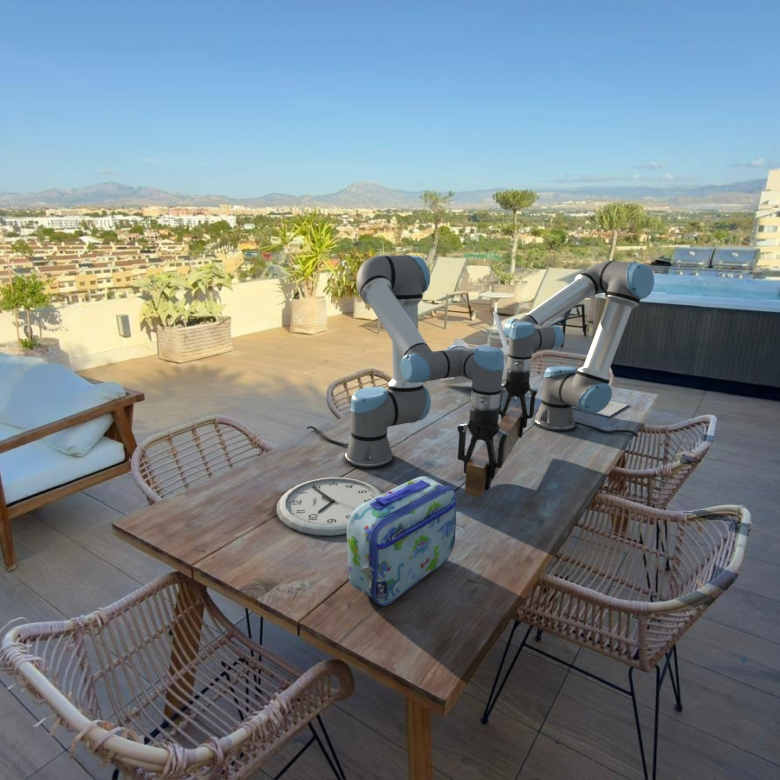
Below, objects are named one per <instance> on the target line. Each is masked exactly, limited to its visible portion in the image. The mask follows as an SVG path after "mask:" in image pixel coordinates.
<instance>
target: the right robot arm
mask: <svg viewBox="0 0 780 780" xmlns="http://www.w3.org/2000/svg"><path fill="white" fill-rule="evenodd" d="M654 286H655V275H654V272H653V270H652V268H651V267H650V266H649V265H648V264H646V263H642V262H637V261H621V260H620V261H618V260H606V261H602V262H599V263H596V264H595V265H593V266H590V267H588V268H586V269H585V270H584V271H582V272H580V273H579V274H577V275H576V276H575V278H574V280H573V281H572V282H571V283H569V284H568V285H567V286H565V287H564V288H562V289H560V291H558V292H557V293H555V294H553V295H552V296H550V297H549V298H548V299H546V300H545V301H543V302H542V303H540V304H539V305H538V306H537V307H535V308H533V309H532V310H531V311H529V312H528V313H526V314H525V315H524V316H522V317H521V318H511V319H508V320H507V321H506V322H505V324H504V327H503V331H504V334H505V337H506V339H508V345H509V351H508V361H507V368H508V370H507V375H506V377H505V382H504V383H503V384H502V385H501V397H500V406H499V407H498V408H499V416H500V421H501V420H502V419H503V418H504V416H505V415H506V414H507V412H508V409H509V406H510V403H511V401H512V398H515V397H517V398H518V399H519V401H520V409H522V414H523V417H522V418H521V423H520V433H519V439H520V438H521V439H522V438H523V435H524V429H526V428H527V427H528V420H531V419H533V418H534V424H535V425H536V426H537V427H539V428H542V429H544V430H549V431H556V432H567V431H572V430H574V429H575V428H576V425H577V426H578V425H579V426H581V427H585V428H588V429H592V430H595V431H597V432H601V433H604V434H614V433H629V434H632V435H633V436H634V437H636V438H639V437H640V436H639V435H638V434H637V432H635V431H634V430H629V429H611V430H606V429H601V428H599V427H596V426H593V425H589V424H586V423H582V422H579V421H576V418H575V417H576V416H575V413H574V409H576V408H578V409H577V410H580V411H581V412H586V413H589V414H596V413H597V412H600V411H601V410H603V409H604V408H605V407H606V406H607V405H608V403H609V402H610V401H612V397H613V392H612V389H613V388H612V387H611V386H610V385H609V384H610V381H611V379H610V376H609V371H610V368H611V366H612V364H613V360H614V358H615V356H616V353H617V350H618V348H619V344H620V342H621V339H622V337H623V334H624V331H625V329H626V326H627V323H628V321H629V318H630V315H631V313H632V310H633V309H635V308H637V307H639V305H640V302H641V300H644V299H645V298H648V296H650V295H651V293H652V291H653V289H654ZM599 294H604V296H603V297H604V299H605V300H606V304H605V306H604V309H603V311H602V314H601V317H600V319H599V323H598V325H597V328H596V331H595V334H594V335H593V339H592V341H591V345H590V347H589V349H588V351H587V352H588V353H587V355H586V358H585V360H584V363H583V366H581V367H579V368H577V367H574V366H566V365H565V366H564V365H559V366H558V365H557V366H550V367H547V368H546V369H545V370H544V375H543V381H542V392H541V402H540V405H539V407H538V409H537V410H536V413H535V405H536V404H535V403H536V396H537V393H538V392H539V391H538V388H532V387H531V385H530V377H531V371H530V370H531V368H532V358H533V352H536V351H546V350H553V349H558V348H560V347H561V346H562V345H563V344H564V340H565V334H564V331H563V329H562V328H561V327H560V326H558V325H550V324H551V323H553V322H555V321H556V320H557V319H559V318H560V317H562V316H563V315H565V313H567V312H568V311H570V310H572V308H574V307H576V306H577V305H578V304H580V303H582V302H583V301H584V300H585V299H591V298H593V297H595V296H596V295H599ZM548 325H549V326H548ZM504 390H506V392H507V396H506V400H505V403H504V405H503V409H502V404H503V391H504ZM528 391H529V394H530V395H529V396H530V400H529V409H528V408H527V402H526V393H527V392H528ZM574 407H575V408H574ZM534 414H535V416H534Z"/></svg>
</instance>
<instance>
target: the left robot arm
mask: <svg viewBox="0 0 780 780" xmlns="http://www.w3.org/2000/svg"><path fill="white" fill-rule="evenodd" d="M430 284H431V273H430V269H429V266H428V264H427V262H426V261H425V259H423V258H422V257H421V256H419V255H411V254H402V255H401V254H399V255H397V254H396V255H395V254H393V255H374V256H371V257H369V258H368V259H366V260H365V261H364V262H363V263H362V264H361V265H360V267H359V269H358V271H357V275H356V289H357V292H358V295H359V297H360V298H361V300H362V301H363V302H364V303H365V305H369V306H370V307H371V309H372V311H373V312H374V314H375V315H376V317H377V319H378V320H379V322H380V324H381V325H382V327H383V328H384V330H385V332H386V333H387V335H388V336H389V338H390V340H391V368H392V369H391V370H392V371H391V372H392V374H391V375H392V378H391V379H390V381H388V382H387V388H385V387H382V386H367V387H363V388H361V389H358V390H356V391H355V392H354V393H353V394H352V396H351V399H350V408H349V409H350V439H349V442H348V443H344V442H340V441H337V440H333V439H331V438H328V437H327V436H325V434H323V432H322V431H321V430H319V429H318V428H316V427H315V426H313V425H308V426H307V427H306V429H307V430H308V429H312V430H314V431H315V432H317V433H319V434H320V435H321V437H322V438H323V439H325V441H328V442H330V443H332V444H333V443H334V444H337V445H339V446H340V445H341V446H344V447H345V446H346V447H347V449H346V451H345V461H346V462H347V464H349V465H350V466H353V467H355V468H359V469H379V468H382V467H386V466H387V465H389V464H391V463H392V461H393V451H392V448H391V445H390V441H389V438H388V428H389V427H394V426H399V425H400V426H401V425H405V424H413V423H414V424H415V423H416V422H420V421H423V420H424V419H425V418H426V417H427V416H428V415H429V413H430V410H431V407H432V406H431V405H432V397H431V395H430V391H429V389H428V388H427V387H426V386H424V383H426V382H430V381H436V380H441V379H445V378H452V377H459V376H463V377H466V378H468V379H471V380H472V382H471V393H470V405H471V406H470V407H469V420H468V422H467V423H463V422H461V423H460V424H459V425H458V426H457V431H458V447H457V449H458V450H457V460H458V461H462V462H463V474H466V468H467V464H468V462H469V461H470V460H471V459H472V457H473V453H474V450H475V448H476V445H477V442H478V441H483V442H485V443H486V446H487V451H488V457H489V463H490V465H489V466H488V468H487V476H486V487H485V490H486V492H487V491H488V492H489V490H490V488H491V484H492V482H491V479H493V480H494V479H495V477H496V475H495V472H496V468H500V469H502V467H503V465H504V463H505V461H504V453H505V443H506V438H507V436H508V435H509V433H508V431H505V432H504V431H502V430H500V428H499V426H498V424H499V418H500V414H499V408H498V407H499V406H500V397H501V385H503V384H502V383H503V375H504V374H503V373H504V370H503V369H504V353H503V351H502V350H501V349H500V348H498V347H495V346H494V347H493V346H490V347H478V348H477V349H476V350H475V351H474V350H471V349H468V348H467V347H464V346H458V345H453V344H452V345H450V346H448V347H447V348H446V349H444V350H443V349H442V350H435V351H434V350H432V349H431V347H430V346H429V345H428V343H427V342H426V340H425V339H424V338H423V335H422V334H421V333H420V331H419V303H420V302H421V301H422V300H423V298H424V297H423V294H424V293H425V292H426V291H428V290H429V286H430ZM467 431H468V432H470V434H471V438H470V443H469V444H468V448H467V451H466V439H467V438H466V437H467ZM497 433H498V435H499V436H498V437H499V439H500V441H499V450H498V460H497V462H496V456H495V450H494V444H493V437H494V436H495V435H496V434H497Z"/></svg>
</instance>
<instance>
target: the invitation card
mask: <svg viewBox="0 0 780 780" xmlns="http://www.w3.org/2000/svg"><path fill="white" fill-rule="evenodd" d="M628 406H629V404H627V403H623V402H618V401H614V400H610V402H609V403H608V405H607V406H606V407H605V408H604V409H603V410H601V411H600V412H597V413H595V414H596V415H600V416H604V417H608V418H609V417H611V416H613V415H614V414H616V413H617V412H619V411H621V410H623V409H624V408H626V407H628ZM573 409H575V410H579V409H578V408H575V407H573Z"/></svg>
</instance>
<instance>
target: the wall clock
mask: <svg viewBox="0 0 780 780" xmlns="http://www.w3.org/2000/svg"><path fill="white" fill-rule="evenodd" d="M381 494H384V492H382V491H381V490H380V489H379V488H377V487H376V486H374V485H372V484H371V483H369V482H365V481H362V480H359V479H355V478H349V477H338V476H337V477H335V476H333V477H332V476H331V477H322V478H317V479H312V480H307V481H305V482H302V483H299V484H297V485H295V486H293V487H292V488H290V489H288V490H287V491H286V492H285V493H284V494H283V495H281V496H280V498H279V499H278V502H277V503H276V515H277V517H278V518H279V520H280V521H281V522H282V523H283V524H285V525H286V526H287V527H288V528H290V529H293V530H295V531H297V532H299V533H303V534H308V535H312V536H327V537H328V536H329V537H331V536H332V537H333V536H342V535H347V525H348V521H349V518H350V516H351V514H352V513H353V511H354V510H355V509H356V508H357V507H358V506H360V505H362V504H363V503H365V502H368V501H370V500H372V499H374V498H376V497H378V496H380V495H381Z"/></svg>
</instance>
